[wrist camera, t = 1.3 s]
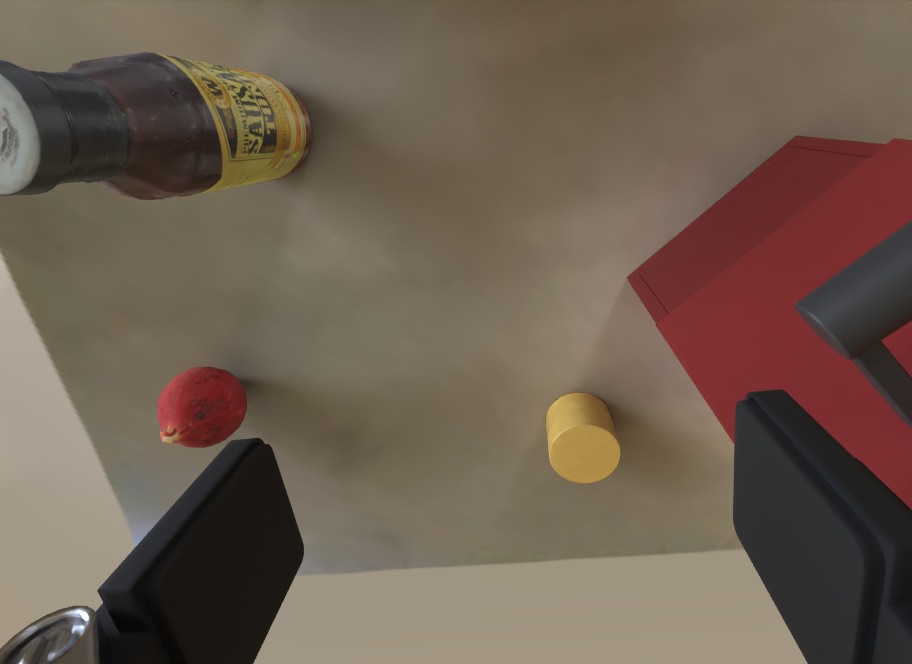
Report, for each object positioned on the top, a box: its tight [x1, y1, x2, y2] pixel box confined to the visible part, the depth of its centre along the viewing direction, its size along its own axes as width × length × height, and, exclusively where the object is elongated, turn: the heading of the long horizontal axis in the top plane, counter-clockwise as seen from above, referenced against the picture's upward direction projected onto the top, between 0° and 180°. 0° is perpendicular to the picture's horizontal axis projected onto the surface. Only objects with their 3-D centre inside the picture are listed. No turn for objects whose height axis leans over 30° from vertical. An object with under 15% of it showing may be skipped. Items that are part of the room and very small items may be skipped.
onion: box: [157, 367, 247, 448], centre depth 39 cm, size 6×6×8 cm
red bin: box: [627, 136, 886, 324], centre depth 31 cm, size 15×13×9 cm
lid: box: [656, 139, 912, 509], centre depth 18 cm, size 16×13×6 cm
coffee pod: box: [546, 393, 621, 483], centre depth 38 cm, size 5×5×4 cm
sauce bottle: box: [0, 52, 312, 200], centre depth 25 cm, size 7×6×20 cm
